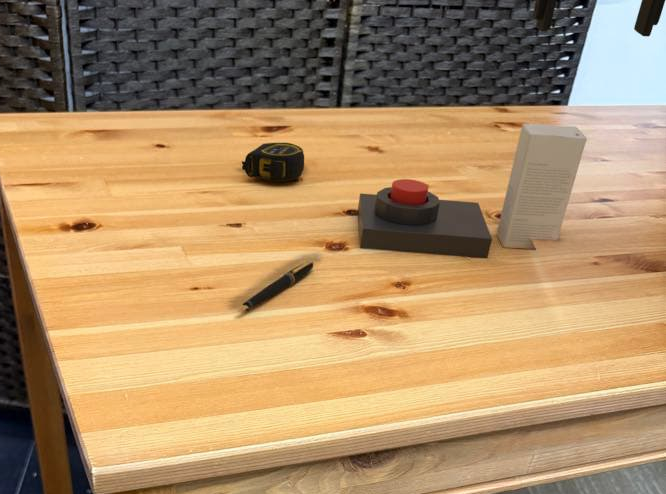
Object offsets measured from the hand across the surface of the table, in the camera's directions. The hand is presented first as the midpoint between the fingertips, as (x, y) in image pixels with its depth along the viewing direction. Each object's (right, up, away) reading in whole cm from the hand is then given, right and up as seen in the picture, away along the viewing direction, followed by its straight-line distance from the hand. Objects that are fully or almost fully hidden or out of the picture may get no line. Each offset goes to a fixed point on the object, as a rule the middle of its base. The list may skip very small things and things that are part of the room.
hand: (591, 31), depth 79 cm
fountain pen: (-31, -26, +1) cm, 40 cm away
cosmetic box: (-2, -16, +14) cm, 21 cm away
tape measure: (-31, -3, +25) cm, 40 cm away
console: (-14, -15, +14) cm, 25 cm away
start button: (-16, -12, +11) cm, 23 cm away
